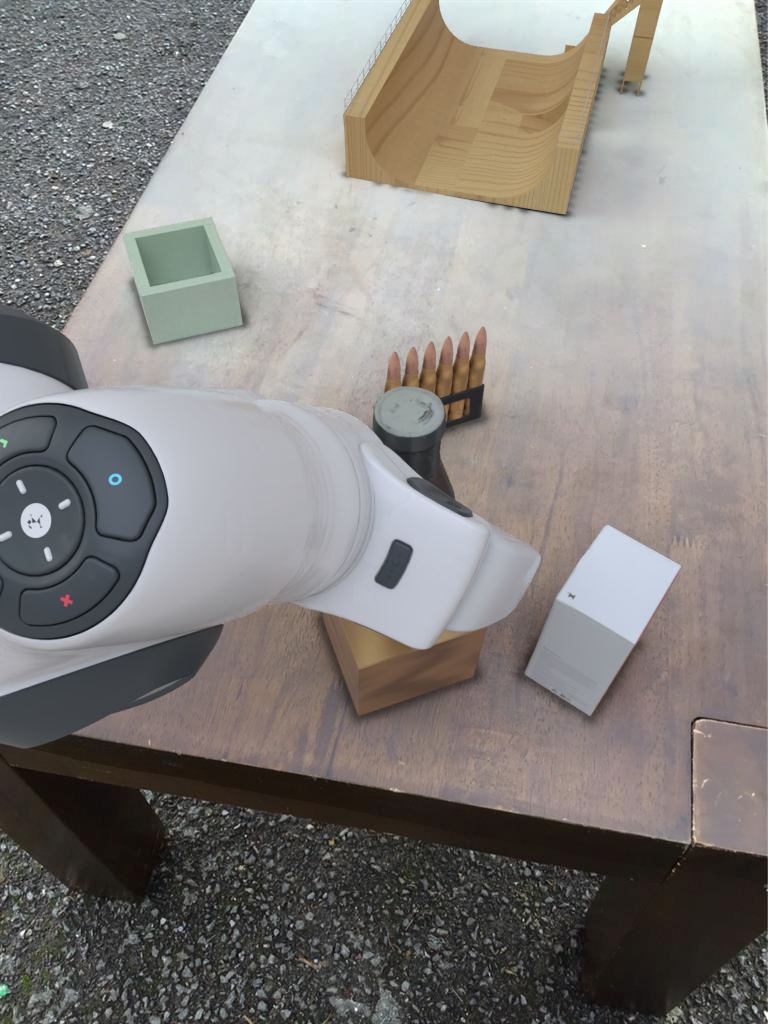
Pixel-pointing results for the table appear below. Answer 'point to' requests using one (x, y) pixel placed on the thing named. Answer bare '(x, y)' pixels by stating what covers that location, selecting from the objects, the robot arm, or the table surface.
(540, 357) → the table surface
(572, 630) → the small box
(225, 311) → the holder
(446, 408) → the ammunition clip
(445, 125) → the skate ramp
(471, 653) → the wooden stand
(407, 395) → the sauce bottle
